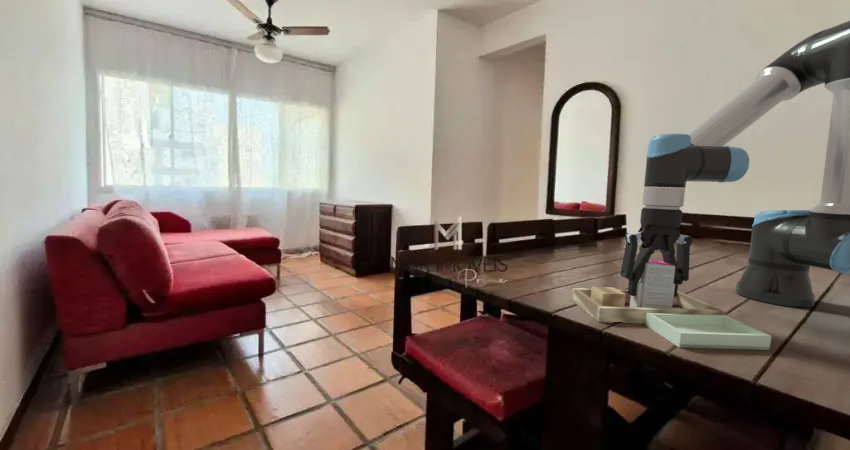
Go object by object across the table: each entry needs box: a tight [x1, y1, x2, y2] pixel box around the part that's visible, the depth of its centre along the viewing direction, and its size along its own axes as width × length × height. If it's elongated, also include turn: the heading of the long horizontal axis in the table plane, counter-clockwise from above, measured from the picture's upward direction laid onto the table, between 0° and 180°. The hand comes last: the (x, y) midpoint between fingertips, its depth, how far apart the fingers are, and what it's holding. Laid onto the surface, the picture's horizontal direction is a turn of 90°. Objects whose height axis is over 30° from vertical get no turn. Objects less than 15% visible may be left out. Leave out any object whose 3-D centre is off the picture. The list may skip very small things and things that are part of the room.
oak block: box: [590, 286, 626, 307], centre depth 82 cm, size 5×5×5 cm
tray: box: [644, 313, 772, 351], centre depth 70 cm, size 16×10×3 cm, turn 90°
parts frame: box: [571, 287, 727, 324], centre depth 83 cm, size 26×14×3 cm, turn 90°
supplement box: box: [639, 259, 675, 308], centre depth 82 cm, size 6×6×12 cm
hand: (650, 309), depth 83 cm, fingers closed on supplement box, 6 cm apart
